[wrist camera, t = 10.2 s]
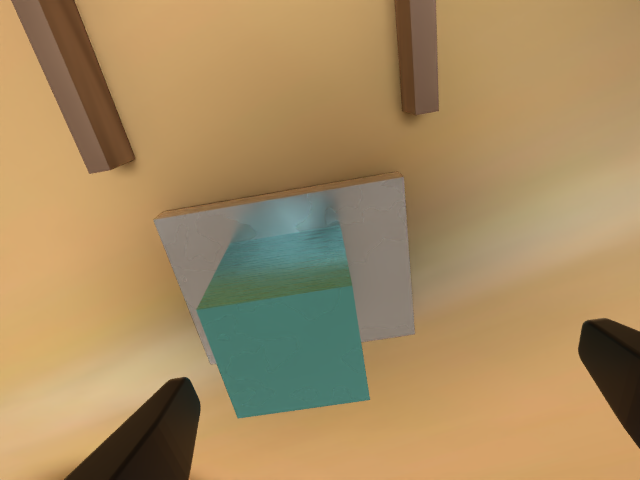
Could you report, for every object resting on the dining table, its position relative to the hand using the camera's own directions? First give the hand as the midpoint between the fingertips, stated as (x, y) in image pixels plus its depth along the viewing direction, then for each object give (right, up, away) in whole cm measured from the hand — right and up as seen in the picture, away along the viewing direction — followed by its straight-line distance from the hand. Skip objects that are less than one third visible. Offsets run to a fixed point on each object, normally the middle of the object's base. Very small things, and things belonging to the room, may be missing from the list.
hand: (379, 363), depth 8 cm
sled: (-3, +1, +13) cm, 14 cm away
